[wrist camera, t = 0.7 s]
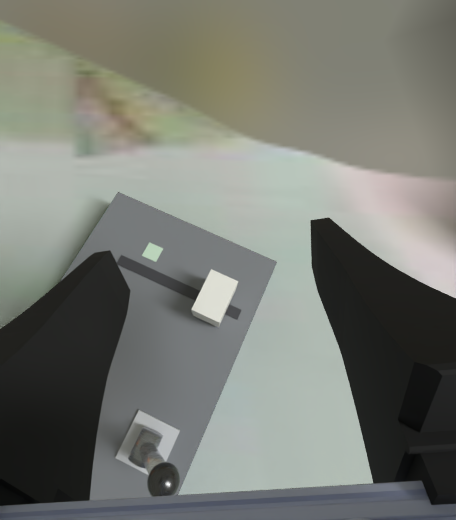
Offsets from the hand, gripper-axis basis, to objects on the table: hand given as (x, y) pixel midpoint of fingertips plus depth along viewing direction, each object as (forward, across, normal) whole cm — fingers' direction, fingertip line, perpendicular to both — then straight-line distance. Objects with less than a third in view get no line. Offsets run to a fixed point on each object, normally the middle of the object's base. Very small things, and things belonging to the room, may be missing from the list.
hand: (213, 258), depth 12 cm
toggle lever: (-1, +7, +13) cm, 15 cm away
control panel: (+7, +9, +13) cm, 17 cm away
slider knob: (+7, +2, +10) cm, 12 cm away
